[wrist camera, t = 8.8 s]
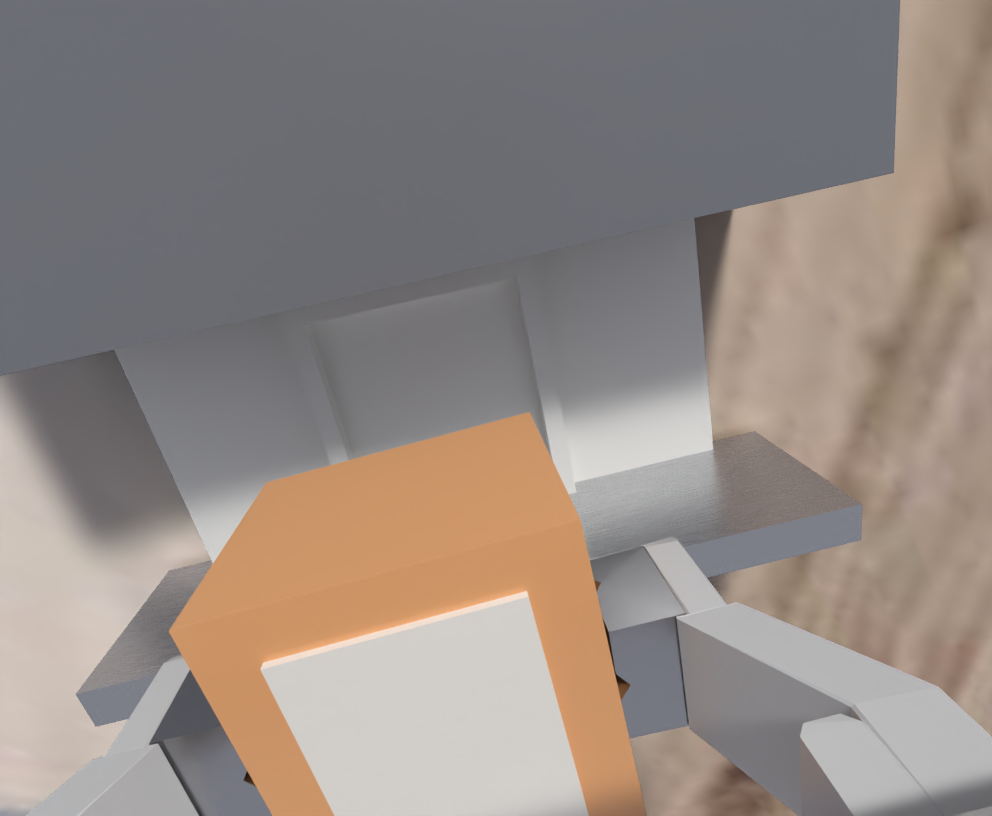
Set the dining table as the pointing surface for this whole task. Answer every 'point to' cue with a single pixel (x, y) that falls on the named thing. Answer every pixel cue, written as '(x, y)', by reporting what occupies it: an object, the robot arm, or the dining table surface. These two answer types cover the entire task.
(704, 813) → the dining table surface
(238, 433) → the tray
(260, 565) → the block
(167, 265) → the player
